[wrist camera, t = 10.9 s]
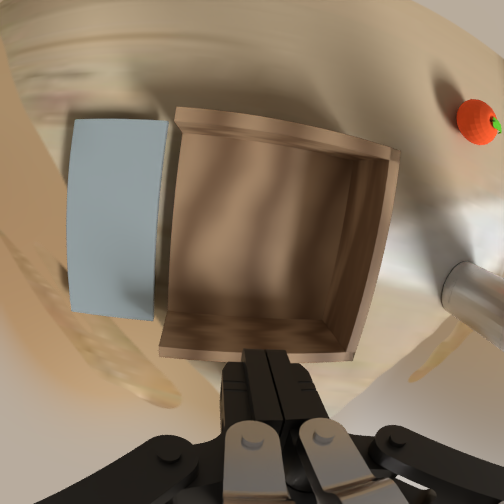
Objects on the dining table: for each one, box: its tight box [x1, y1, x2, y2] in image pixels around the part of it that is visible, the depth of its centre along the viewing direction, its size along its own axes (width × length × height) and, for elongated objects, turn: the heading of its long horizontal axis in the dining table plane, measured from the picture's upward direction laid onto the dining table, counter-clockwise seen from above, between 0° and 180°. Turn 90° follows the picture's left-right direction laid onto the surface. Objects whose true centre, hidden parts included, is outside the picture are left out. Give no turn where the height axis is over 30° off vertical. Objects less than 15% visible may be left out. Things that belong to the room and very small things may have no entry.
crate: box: [159, 107, 401, 363], centre depth 29 cm, size 20×22×9 cm
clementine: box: [457, 99, 501, 145], centre depth 30 cm, size 8×7×7 cm
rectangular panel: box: [66, 119, 169, 321], centre depth 29 cm, size 2×22×10 cm
